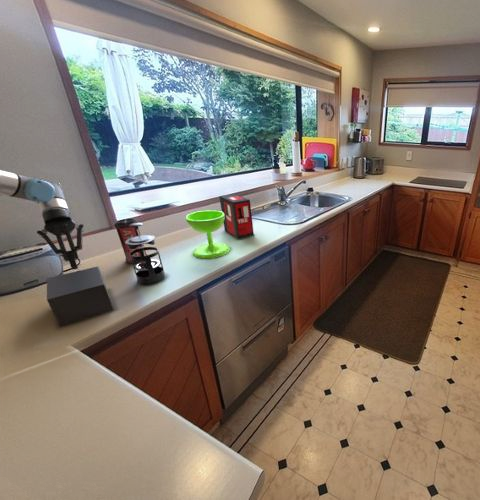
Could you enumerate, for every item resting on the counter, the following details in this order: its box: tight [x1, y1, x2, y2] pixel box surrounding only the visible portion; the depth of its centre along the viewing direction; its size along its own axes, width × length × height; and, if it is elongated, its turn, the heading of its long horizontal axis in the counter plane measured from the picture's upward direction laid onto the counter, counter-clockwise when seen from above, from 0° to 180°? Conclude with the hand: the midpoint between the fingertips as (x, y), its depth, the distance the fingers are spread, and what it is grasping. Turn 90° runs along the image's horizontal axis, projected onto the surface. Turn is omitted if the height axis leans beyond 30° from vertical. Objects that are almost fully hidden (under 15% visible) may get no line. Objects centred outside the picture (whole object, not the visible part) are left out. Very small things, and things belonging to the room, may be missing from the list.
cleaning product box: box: [218, 193, 255, 240], centre depth 153 cm, size 16×9×20 cm, turn 46°
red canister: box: [114, 218, 148, 264], centre depth 121 cm, size 8×8×18 cm
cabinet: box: [46, 266, 115, 327], centre depth 91 cm, size 16×13×10 cm
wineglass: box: [185, 209, 231, 259], centre depth 131 cm, size 16×16×18 cm
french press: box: [125, 222, 167, 286], centre depth 106 cm, size 12×9×23 cm
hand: (74, 267), depth 103 cm, fingers closed
